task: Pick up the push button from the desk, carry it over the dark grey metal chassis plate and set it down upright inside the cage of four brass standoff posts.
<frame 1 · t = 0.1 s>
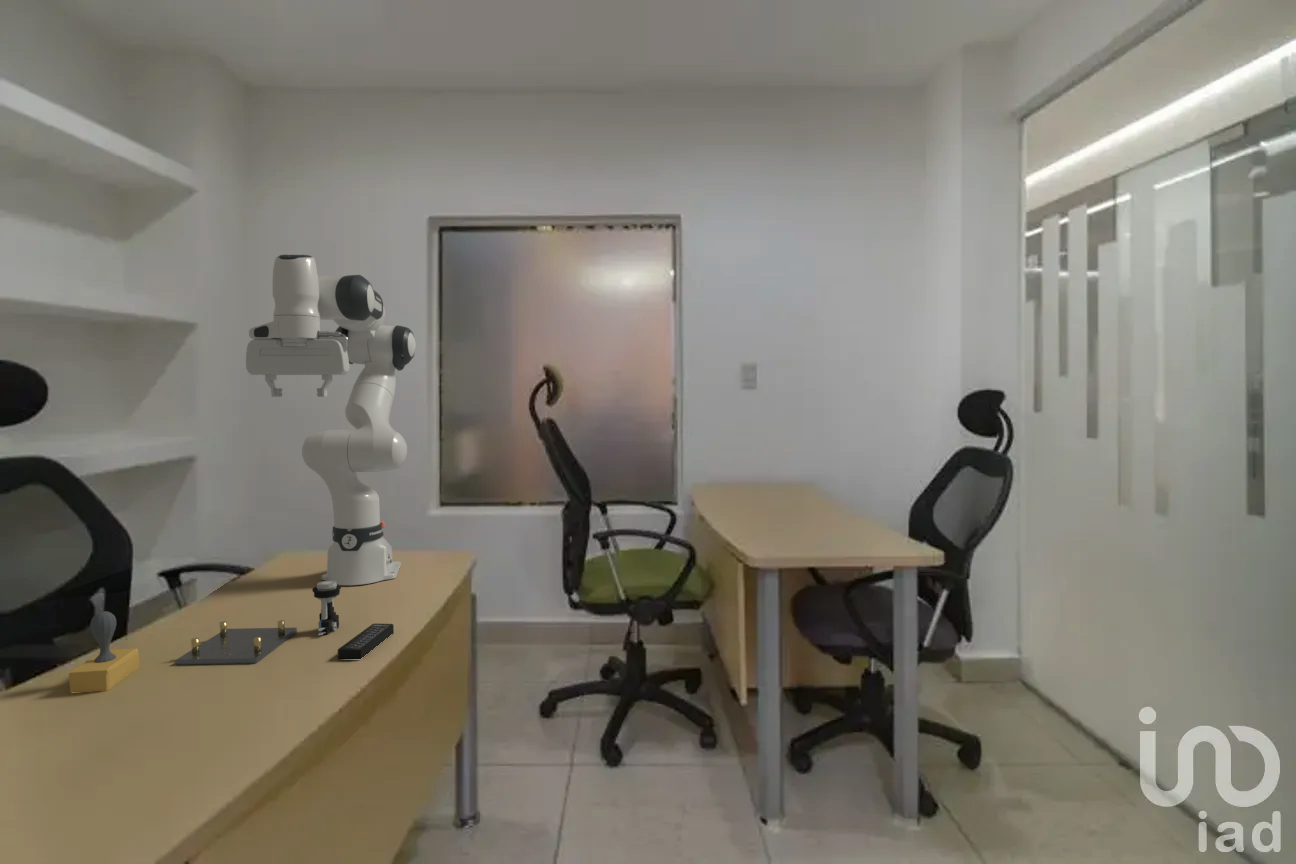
hand: (299, 396, 148), 48 cm above the table, tool pointing down, fingers open, 8 cm apart
push button: (326, 632, 142), on the table
chassis: (240, 647, 133), on the table
multiport hub: (367, 648, 135), on the table
rubber stamp: (106, 681, 119), on the table
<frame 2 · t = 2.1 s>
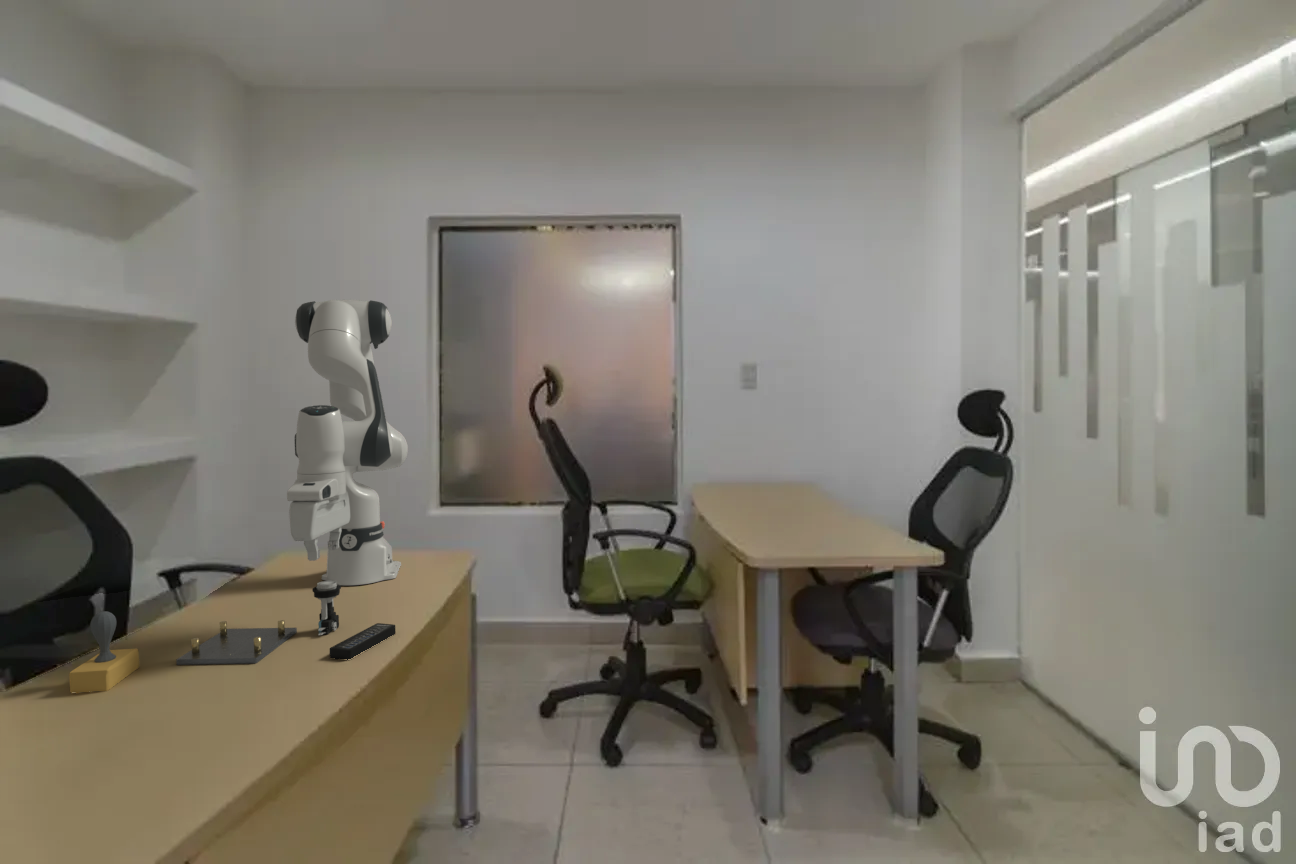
hand: (324, 554, 141), 16 cm above the table, tool pointing down, fingers open, 8 cm apart
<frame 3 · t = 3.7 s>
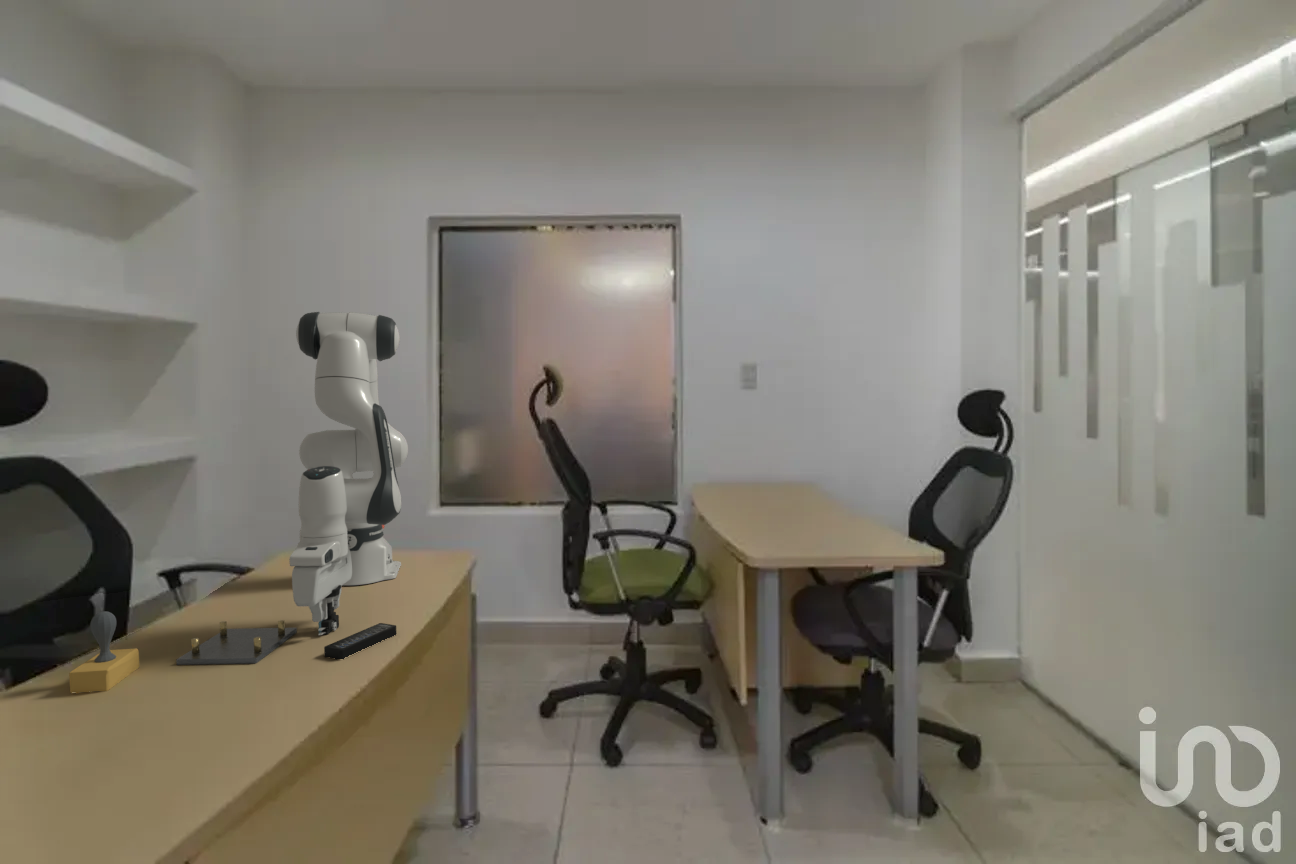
hand: (326, 614, 142), 4 cm above the table, tool pointing down, fingers open, 6 cm apart
push button: (326, 632, 142), on the table, touching gripper
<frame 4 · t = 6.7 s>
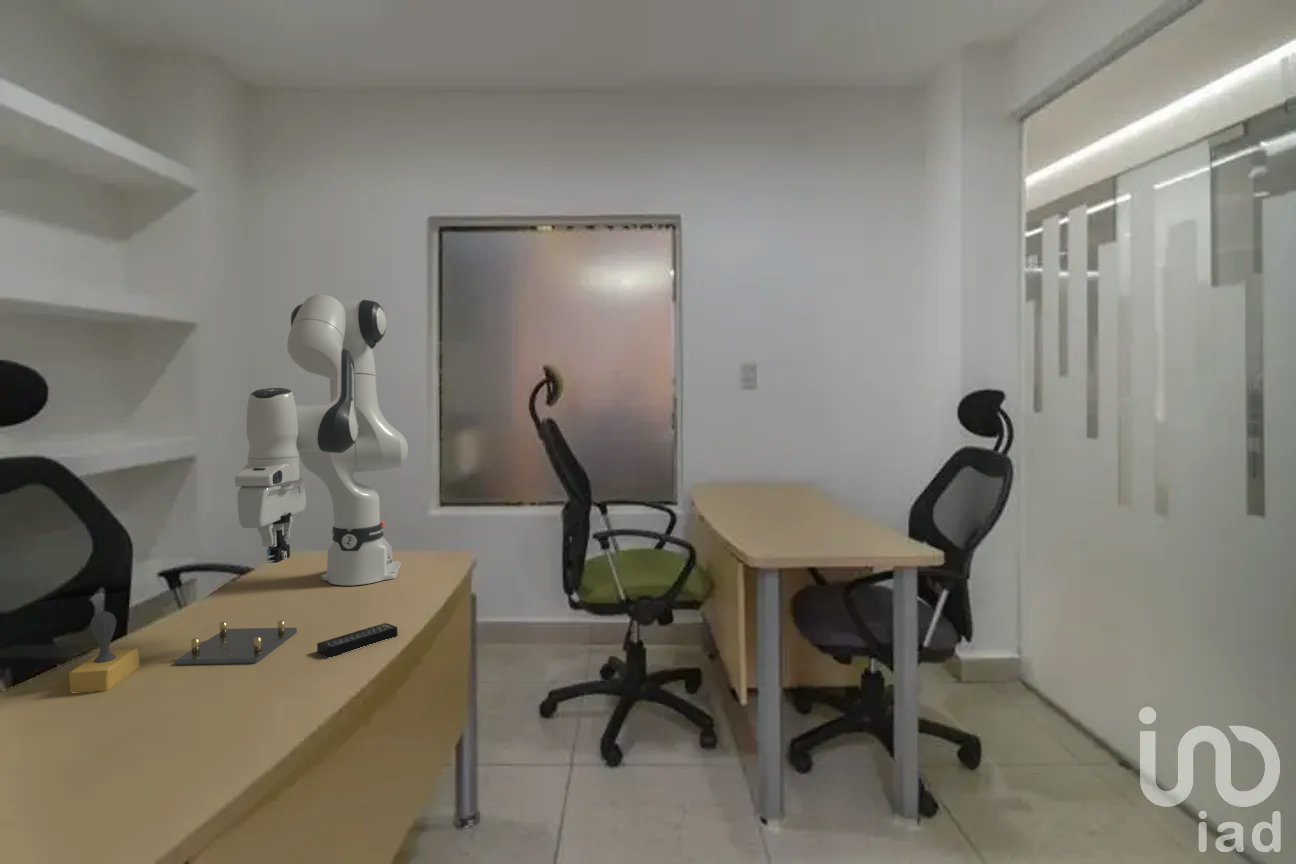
hand: (276, 542, 136), 20 cm above the table, tool pointing down, fingers closed on push button, 5 cm apart
push button: (276, 562, 135), point 16 cm above the table, touching gripper
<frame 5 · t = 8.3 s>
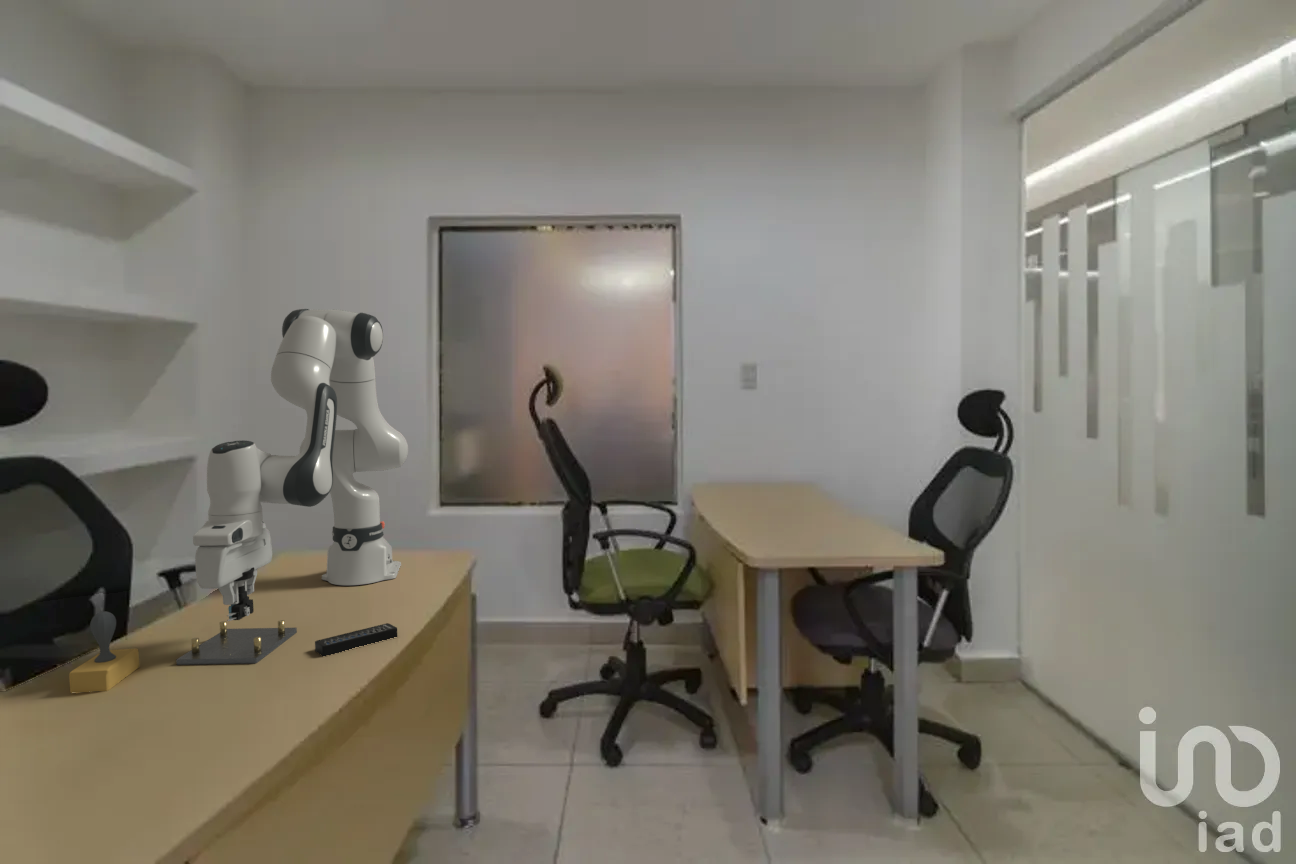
hand: (239, 598, 133), 10 cm above the table, tool pointing down, fingers closed on push button, 5 cm apart
push button: (238, 618, 133), point 6 cm above the table, touching gripper
when the fingers open (6 cm above the table, at t = 9.5 s): push button drops 1 cm, resting on chassis.
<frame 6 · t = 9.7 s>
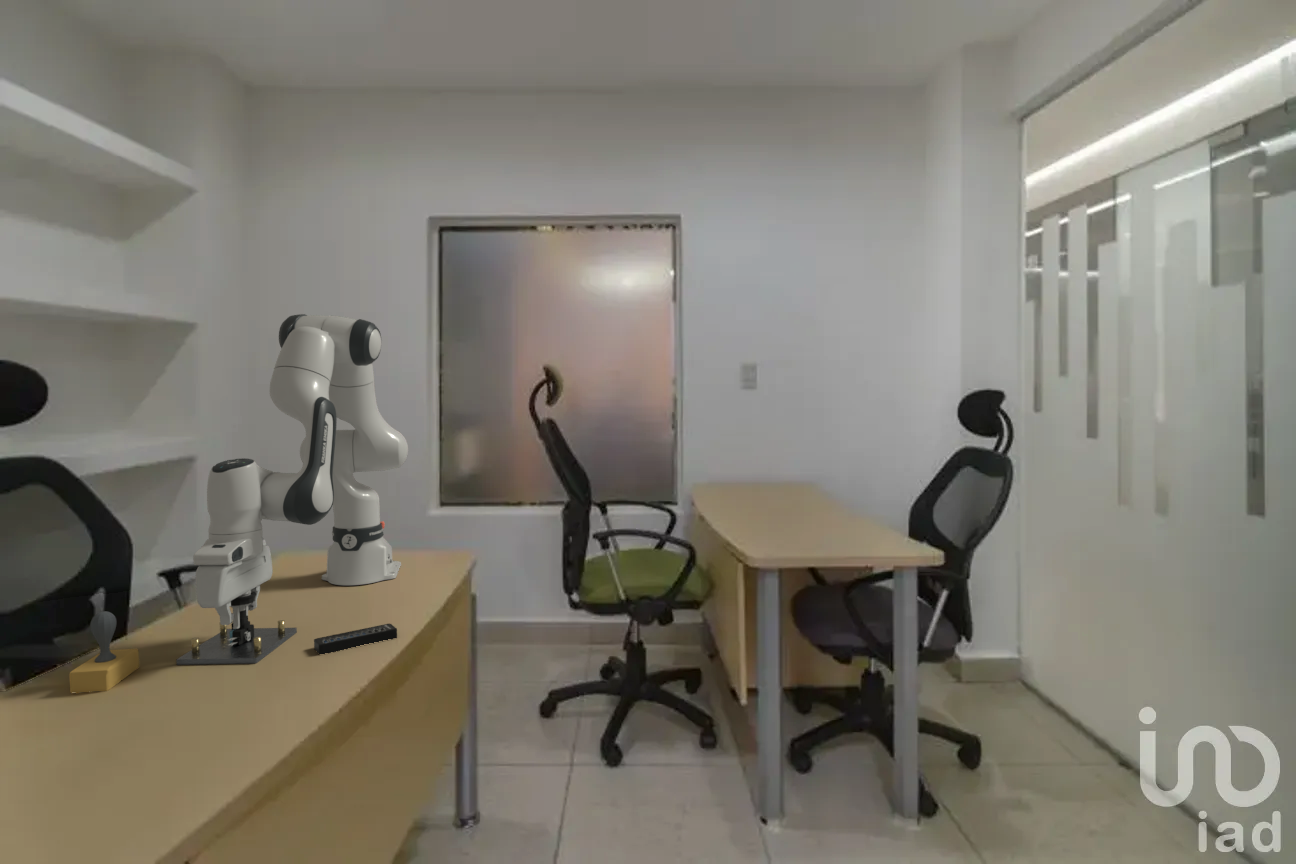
hand: (239, 616, 133), 6 cm above the table, tool pointing down, fingers open, 7 cm apart
push button: (239, 643, 133), point 1 cm above the table, touching chassis
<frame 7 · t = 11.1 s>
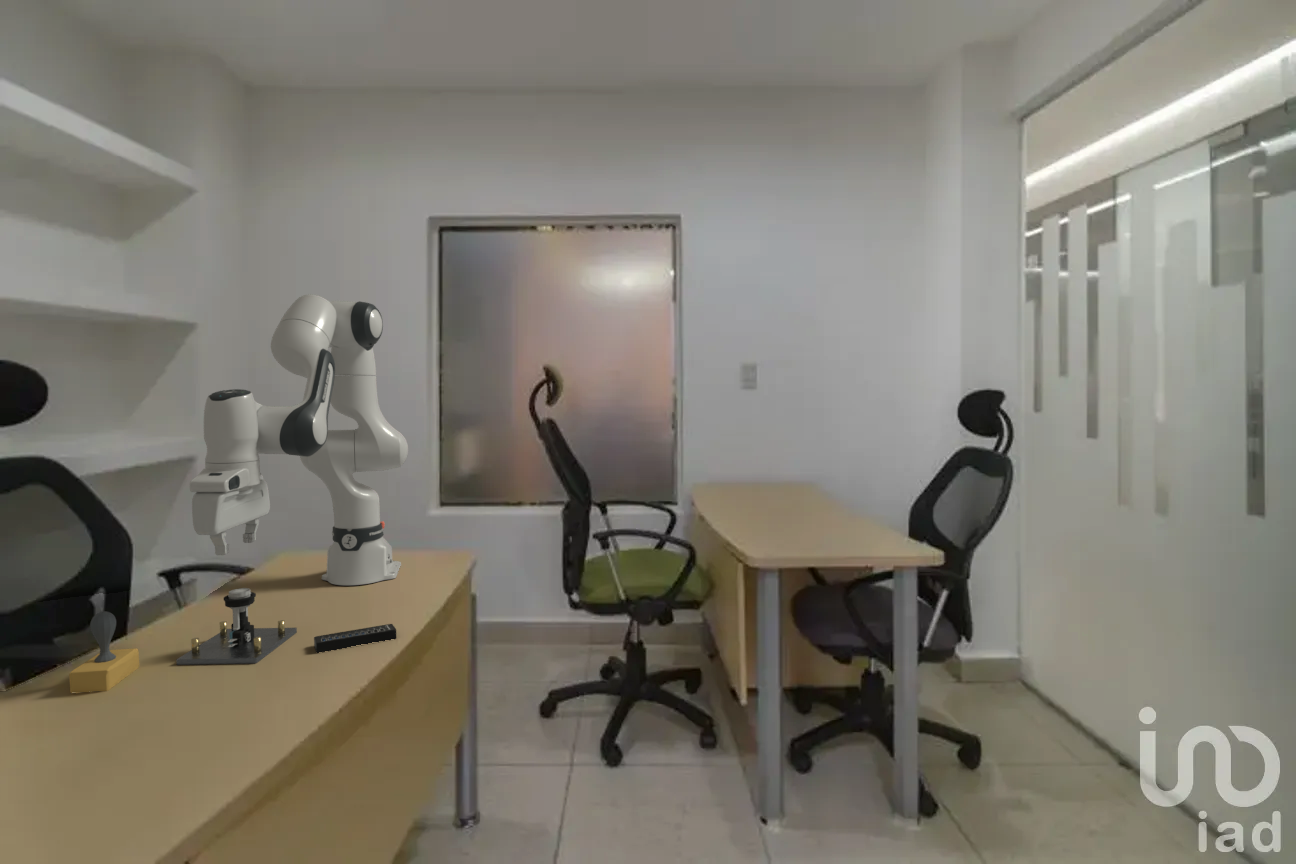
hand: (236, 548, 132), 19 cm above the table, tool pointing down, fingers open, 8 cm apart
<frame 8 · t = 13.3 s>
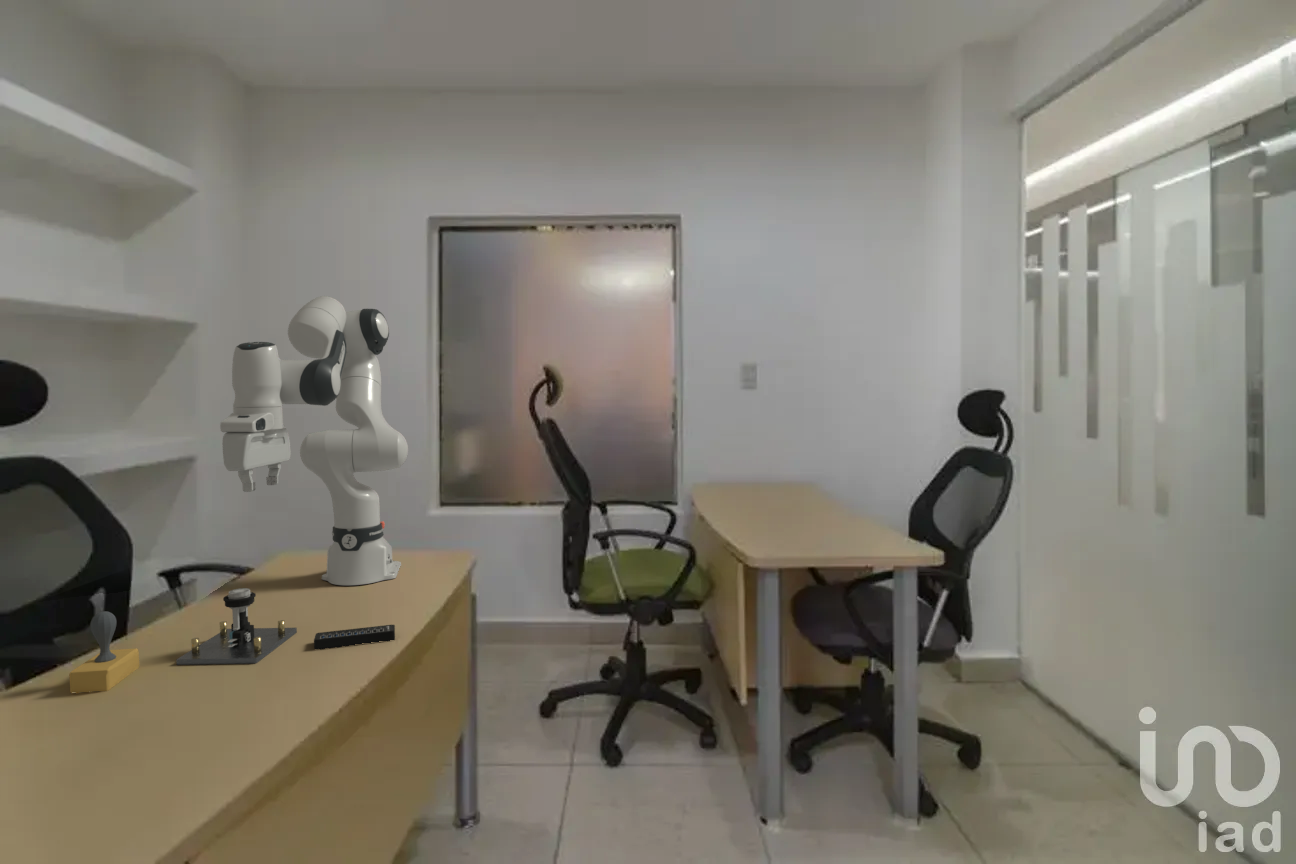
hand: (261, 488, 144), 29 cm above the table, tool pointing down, fingers open, 8 cm apart
at the end: push button 0.5 cm off-centre on the chassis, point 0.8 cm above the chassis's base; push button tilted 0°; the gripper is holding nothing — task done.
